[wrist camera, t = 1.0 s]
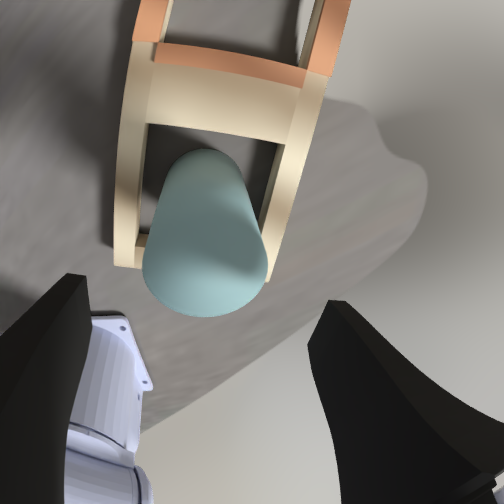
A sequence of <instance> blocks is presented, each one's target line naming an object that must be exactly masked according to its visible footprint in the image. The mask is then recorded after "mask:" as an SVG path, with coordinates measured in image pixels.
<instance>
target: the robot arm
mask: <svg viewBox="0 0 504 504" xmlns="http://www.w3.org/2000/svg"><path fill="white" fill-rule="evenodd" d="M122 326H124V327H122ZM307 345H308V352H309V359H310V364H311V370H312V373H313V377H314V381H315V384H316V387H317V390H318V393H319V397H320V400H321V403H322V406H323V409H324V412H325V415H326V418H327V421H328V425H329V428H330V432H331V435H332V439H333V444H334V449H335V455H336V460H337V466H338V474H339V482H340V492H341V504H504V486H503V487H501V488H500V489H499V490H497V491H495V492H494V493H493V491H492V488H494V487H495V486H496V485H497V484H496V481H495V479H494V478H496V477H497V476H499V475H500V474H502V473H503V472H504V423H502V422H500V421H497V420H495V419H493V418H491V417H489V416H487V415H485V414H483V413H481V412H479V411H477V410H476V409H474V408H472V407H470V406H469V405H467V404H465V403H464V402H462V401H461V400H459V399H458V398H456V397H454V396H453V395H451V394H450V393H449V392H447V391H446V390H444V389H443V388H441V387H440V386H439V385H437V384H436V383H435V382H434V381H432V380H431V379H430V378H428V377H427V376H426V375H425V374H424V373H422V372H421V371H420V370H419V369H418V368H416V367H415V366H414V365H413V364H412V363H411V362H410V361H408V360H407V359H406V358H405V357H404V356H403V355H402V354H401V353H400V352H399V351H398V350H396V349H395V348H394V347H393V346H392V345H391V344H390V343H389V342H388V341H387V340H386V339H385V338H384V337H383V336H382V335H381V334H380V333H379V332H378V331H377V330H376V329H375V328H374V327H373V326H372V325H371V324H370V323H369V322H368V321H367V320H366V319H365V318H364V317H363V316H362V315H360V314H359V313H358V312H357V311H356V310H355V309H354V308H353V307H352V306H351V305H350V304H348V303H347V302H346V301H337V300H328V302H327V304H326V307H325V309H324V311H323V313H322V315H321V318H320V319H319V321H318V324H317V326H316V328H315V330H314V332H313V334H312V336H311V338H310V340H309V342H308V344H307ZM151 390H153V384H152V382H151V379H150V377H149V374H148V372H147V369H146V367H145V364H144V362H143V359H142V357H141V354H140V352H139V349H138V347H137V344H136V341H135V339H134V336H133V333H132V330H131V328H130V325H129V322H128V319H127V318H126V317H124V316H91V312H90V305H89V297H88V289H87V279H86V276H84V275H77V274H70V273H67V274H65V275H64V276H63V277H62V278H61V279H60V280H59V281H58V282H57V283H56V284H54V285H53V286H52V287H51V288H50V289H49V290H48V291H47V292H46V293H45V294H44V295H43V296H42V297H41V298H40V299H39V300H38V301H37V302H36V303H35V304H34V305H33V306H32V307H31V308H30V309H29V310H28V311H27V312H26V313H24V314H23V315H22V316H21V317H20V318H19V319H18V320H17V321H16V322H15V323H14V324H13V325H12V326H11V327H10V328H9V329H7V330H6V331H5V332H4V333H3V334H2V335H1V336H0V504H153V503H154V502H153V491H152V487H151V484H150V481H149V479H148V478H147V476H146V474H145V472H144V471H143V469H142V468H141V467H139V466H137V465H134V459H135V452H136V450H137V448H138V445H139V436H140V420H141V406H142V394H143V391H151Z"/></svg>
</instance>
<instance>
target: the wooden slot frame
mask: <svg viewBox="0 0 504 504" xmlns="http://www.w3.org/2000/svg"><path fill="white" fill-rule="evenodd" d="M173 2H174V0H141V3H140V7H139V11H138V15H137V19H136V23H135V28H134V32H133V37H132V41H133V44H132V49H131V55H130V60H129V65H128V71H127V77H126V84H125V90H124V97H123V104H122V112H121V120H120V129H119V139H118V150H117V163H116V178H115V200H114V266H122V267H131V268H139V269H142V259H143V254H144V250H145V246H146V243H147V239H148V234H140V233H139V222H140V207H141V194H142V182H143V172H144V162H145V153H146V145H147V137H148V129H149V123H153V124H162V125H171V126H179V127H187V128H194V129H201V130H208V131H215V132H221V133H227V134H233V135H239V136H244V137H250V138H255V139H261V140H266V141H271V142H276V143H278V145H277V149H276V153H275V157H274V161H273V165H272V168H271V172H270V176H269V180H268V184H267V188H266V192H265V195H264V199H263V203H262V207H261V211H260V215H259V219H258V223H257V224H258V227H259V231H260V234H261V237H262V240H263V243H264V247H265V250H266V253H267V258H268V272H267V276H266V279H265V282H269V280H270V277H271V273H272V270H273V267H274V264H275V261H276V257H277V254H278V251H279V248H280V244H281V241H282V238H283V235H284V231H285V228H286V225H287V221H288V218H289V215H290V211H291V208H292V205H293V201H294V198H295V195H296V191H297V188H298V185H299V181H300V178H301V174H302V171H303V167H304V164H305V161H306V157H307V154H308V150H309V147H310V143H311V140H312V136H313V133H314V129H315V126H316V122H317V118H318V115H319V111H320V108H321V104H322V100H323V97H324V93H325V89H326V86H327V82H328V79H329V77H331V75H332V72H333V68H334V65H335V61H336V57H337V53H338V50H339V45H340V42H341V38H342V34H343V30H344V27H345V23H346V18H347V15H348V10H349V7H350V3H351V0H315V3H314V7H313V11H312V14H311V18H310V22H309V26H308V30H307V34H306V37H305V41H304V45H303V49H302V53H301V57H300V60H299V64H298V67H295V66H291V65H288V64H284V63H280V62H276V61H272V60H267V59H263V58H258V57H254V56H249V55H244V54H239V53H234V52H228V51H223V50H217V49H210V48H203V47H196V46H189V45H180V44H171V43H164V39H165V34H166V30H167V26H168V21H169V17H170V13H171V9H172V5H173Z"/></svg>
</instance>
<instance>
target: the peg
mask: <svg viewBox="0 0 504 504" xmlns="http://www.w3.org/2000/svg"><path fill="white" fill-rule="evenodd" d="M142 272H143V277H144V280H145V283H146V285H147V287H148V288H149V290H150V291H151V293H152V294H153V295H154V296H155V297H156V299H158V300H159V301H160V302H161V303H162V304H164V305H165V306H167V307H168V308H170V309H172V310H174V311H176V312H179V313H182V314H185V315H190V316H196V317H213V316H219V315H224V314H227V313H230V312H233V311H235V310H237V309H239V308H241V307H242V306H244V305H246V304H247V303H248V302H250V301H251V300H252V299H253V298H254V297H255V296H256V295H257V293H258V292H259V291H260V289H261V288H262V286H263V284H264V282H265V279H266V276H267V272H268V258H267V253H266V250H265V247H264V243H263V240H262V237H261V234H260V231H259V227H258V224H257V221H256V218H255V215H254V212H253V208H252V205H251V202H250V199H249V196H248V193H247V190H246V186H245V183H244V180H243V177H242V174H241V171H240V169H239V167H238V166H237V164H236V163H235V162H234V161H233V160H232V159H231V158H230V157H229V156H227V155H226V154H224V153H222V152H219V151H217V150H213V149H197V150H193V151H190V152H188V153H185V154H184V155H182V156H181V157H179V158H178V159H177V160H176V161H175V162H174V163H173V164H172V166H171V167H170V169H169V171H168V173H167V176H166V179H165V182H164V185H163V188H162V192H161V195H160V198H159V201H158V205H157V208H156V211H155V214H154V218H153V221H152V225H151V228H150V232H149V235H148V239H147V243H146V246H145V250H144V254H143V259H142Z"/></svg>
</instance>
